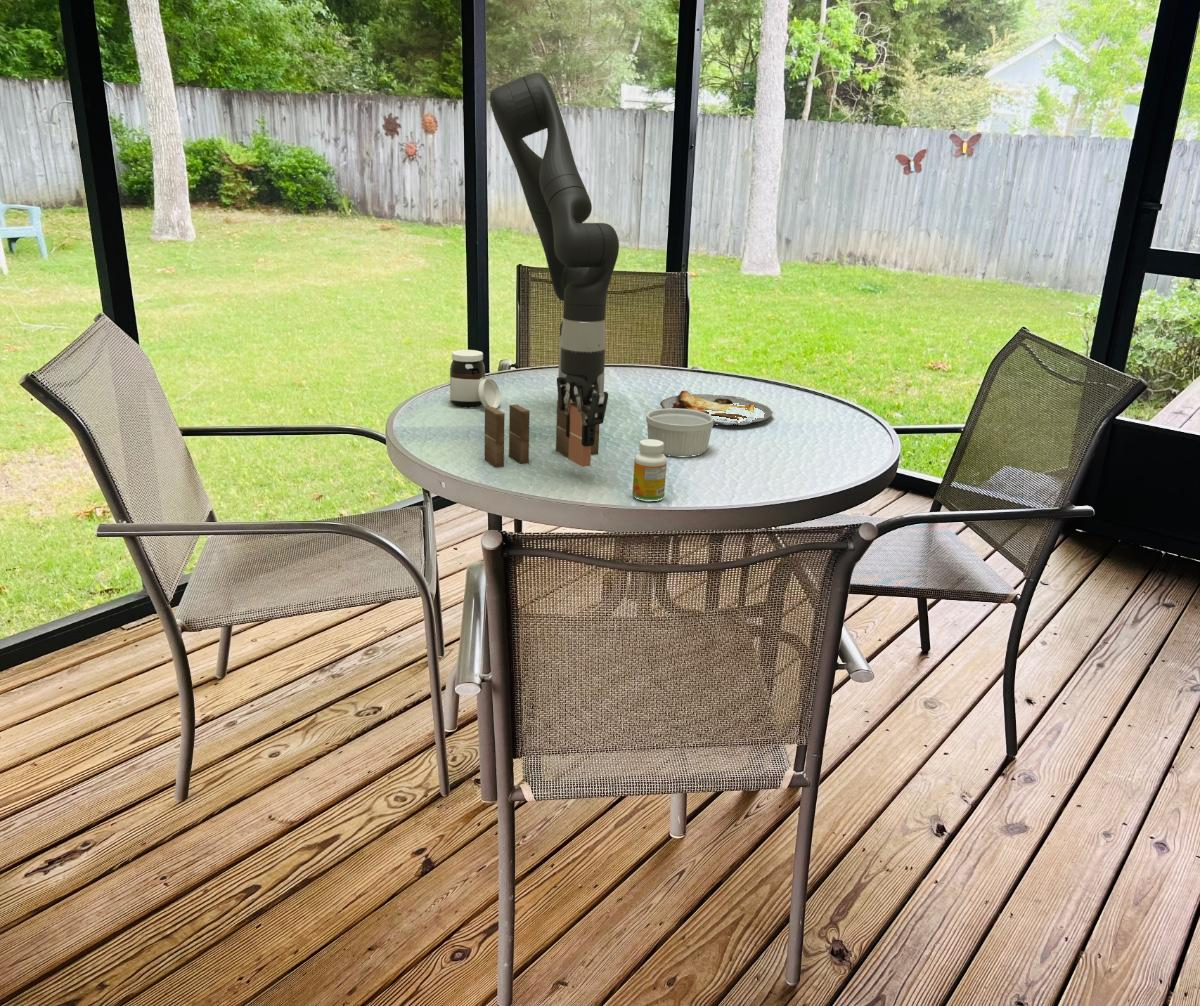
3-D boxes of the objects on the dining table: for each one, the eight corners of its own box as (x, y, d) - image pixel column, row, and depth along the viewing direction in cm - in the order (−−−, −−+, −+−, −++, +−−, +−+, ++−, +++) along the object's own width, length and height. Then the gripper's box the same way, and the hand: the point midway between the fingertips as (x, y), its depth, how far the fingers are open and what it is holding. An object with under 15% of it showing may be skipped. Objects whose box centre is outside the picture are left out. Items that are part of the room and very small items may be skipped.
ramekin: (633, 443, 191) (635, 409, 189) (690, 438, 196) (693, 405, 194) (662, 462, 180) (665, 427, 177) (723, 457, 185) (726, 422, 182)
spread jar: (452, 398, 218) (452, 347, 214) (502, 399, 219) (502, 349, 215) (447, 411, 207) (446, 358, 203) (499, 413, 208) (499, 360, 204)
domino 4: (576, 457, 170) (578, 403, 167) (590, 465, 166) (592, 410, 163) (568, 458, 170) (570, 404, 166) (582, 467, 166) (584, 411, 162)
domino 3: (563, 449, 184) (564, 399, 181) (575, 457, 180) (577, 405, 177) (555, 450, 183) (557, 400, 180) (568, 458, 179) (570, 406, 176)
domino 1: (492, 459, 177) (492, 406, 173) (504, 466, 173) (504, 413, 169) (484, 460, 176) (484, 407, 172) (495, 467, 172) (496, 414, 168)
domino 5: (585, 447, 187) (587, 397, 183) (598, 454, 183) (600, 403, 179) (578, 448, 186) (580, 398, 182) (590, 455, 182) (593, 404, 178)
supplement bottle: (630, 491, 163) (633, 437, 160) (661, 492, 163) (665, 438, 160) (634, 502, 158) (637, 446, 154) (666, 503, 158) (670, 447, 155)
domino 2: (516, 455, 179) (517, 404, 176) (528, 463, 175) (529, 410, 172) (508, 456, 178) (509, 405, 175) (520, 464, 174) (521, 411, 171)
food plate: (646, 418, 209) (647, 403, 208) (677, 397, 229) (679, 383, 228) (757, 438, 201) (759, 422, 199) (779, 414, 221) (782, 400, 220)
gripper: (624, 351, 157) (619, 450, 163) (581, 336, 168) (577, 428, 174) (585, 355, 153) (581, 455, 159) (543, 338, 164) (541, 433, 170)
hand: (579, 441), depth 167 cm, fingers closed on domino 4, 5 cm apart
